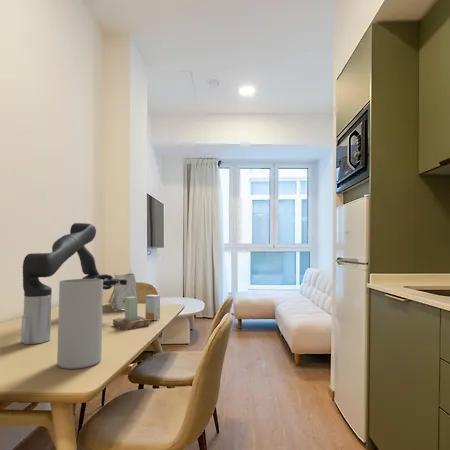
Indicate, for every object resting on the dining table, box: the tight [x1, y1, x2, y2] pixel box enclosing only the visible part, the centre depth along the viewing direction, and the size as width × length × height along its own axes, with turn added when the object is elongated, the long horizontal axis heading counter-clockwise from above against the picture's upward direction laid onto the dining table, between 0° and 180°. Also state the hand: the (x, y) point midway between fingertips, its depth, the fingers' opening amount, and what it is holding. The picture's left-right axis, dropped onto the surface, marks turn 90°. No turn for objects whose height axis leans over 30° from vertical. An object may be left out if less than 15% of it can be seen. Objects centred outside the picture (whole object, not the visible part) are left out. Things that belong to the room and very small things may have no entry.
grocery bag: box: [110, 268, 137, 311], centre depth 213 cm, size 32×14×23 cm, turn 20°
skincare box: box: [144, 294, 161, 321], centre depth 171 cm, size 6×4×12 cm
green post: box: [124, 296, 139, 321], centre depth 158 cm, size 4×4×12 cm
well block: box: [112, 315, 151, 330], centre depth 158 cm, size 12×12×3 cm
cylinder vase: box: [56, 278, 104, 370], centre depth 107 cm, size 12×12×25 cm
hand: (117, 283), depth 166 cm, fingers open, 8 cm apart
